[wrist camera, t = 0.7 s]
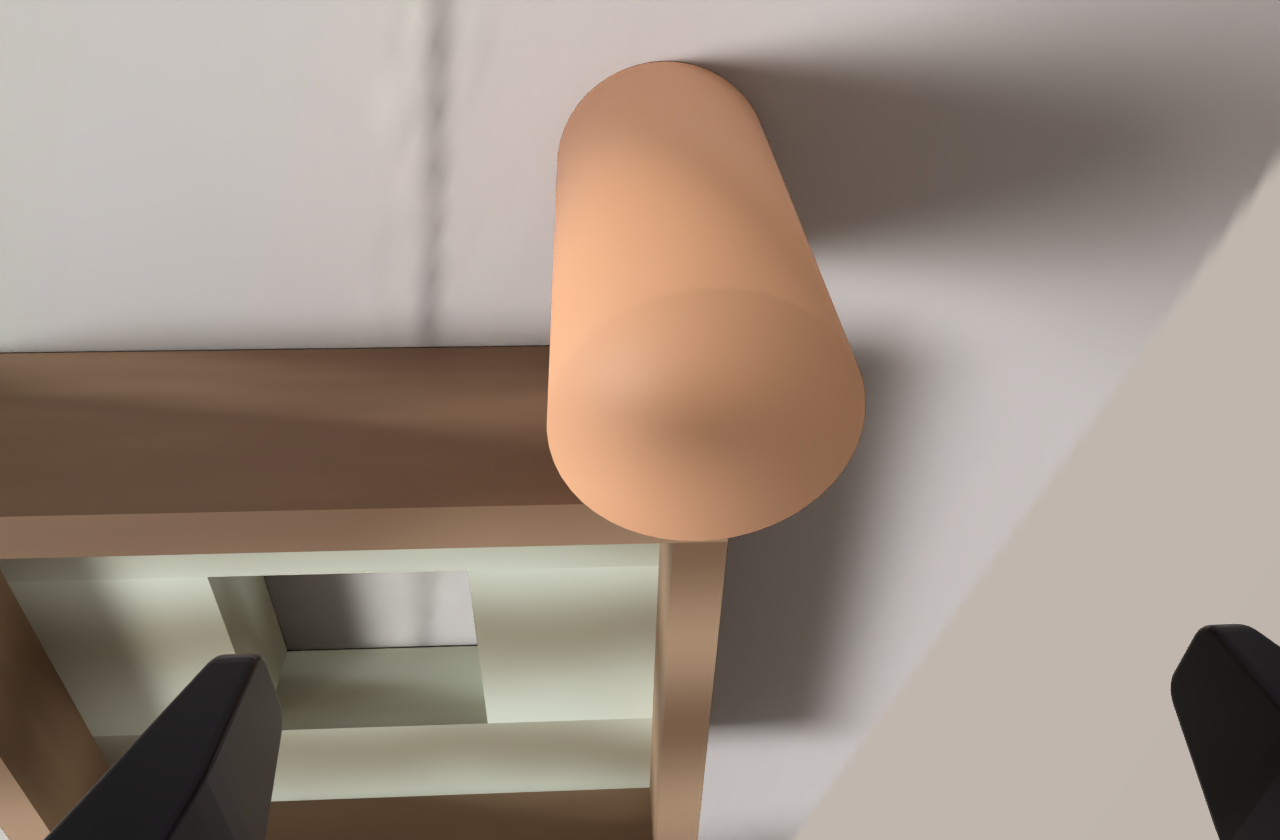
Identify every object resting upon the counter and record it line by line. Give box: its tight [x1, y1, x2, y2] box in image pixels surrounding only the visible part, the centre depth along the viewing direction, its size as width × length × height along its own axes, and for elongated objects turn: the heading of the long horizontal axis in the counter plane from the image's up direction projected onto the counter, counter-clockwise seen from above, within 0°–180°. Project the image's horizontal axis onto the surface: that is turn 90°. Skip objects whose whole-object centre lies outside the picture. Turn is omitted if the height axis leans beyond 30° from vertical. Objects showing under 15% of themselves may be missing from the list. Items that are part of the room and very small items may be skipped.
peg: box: [547, 61, 866, 541], centre depth 15 cm, size 4×4×8 cm
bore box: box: [0, 346, 728, 840], centre depth 23 cm, size 14×16×5 cm
